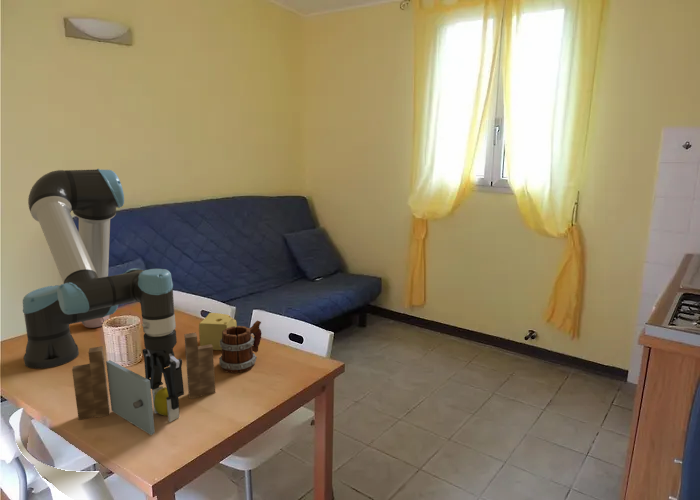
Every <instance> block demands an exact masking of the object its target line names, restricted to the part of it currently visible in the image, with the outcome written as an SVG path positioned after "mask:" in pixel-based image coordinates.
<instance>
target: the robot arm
mask: <svg viewBox="0 0 700 500" xmlns="http://www.w3.org/2000/svg"><path fill="white" fill-rule="evenodd" d="M27 198H28V199H27V201H28V204H27V205H28V209H29V211H30V215H31V217H32V218H33V219H34V220H35V221H37V222H38V223H39V226H40V227H41V230H42V233H43V236H44V238H45V241H46V243H47V245H48V247H49V248H48V249H49V250H50V253H51V256H52V257H53V261H54V263H55V266H56V268H57V271H58V273H59V276H60V278H61V280H62V284H60V285H59V284H58V285H57V284H56V285H48V286H44V287H39V288H38V289H35V290H32V291H30V292H29V293H27V294H26V295H25V296H24V297H23V298H22V313H23V317H24V322H25V330H26V337H27V342H26V343H27V344H26V347H25V353H24V355H23V362H24V363H23V364H24V366H25V367H27V368H30V369H48V368H54V367H58V366H61V365H62V366H63V365H64V364H67V363H69V362H71V361H73V360H74V359H76V358H77V357H78V356H79V354H80V352H79V351H80V350H79V346H78V344H77V343H76V341H75V339H74V337H73V336H72V333H71V329H70V325H72V324H78V323H82V321H87V320H92V319H96V318H103V317H105V316H108V315H110V316H111V315H113V314H115V313H116V312H117V309H118V308H119V305H125V304H129V303H130V304H131V303H133V302H138V303H140V309H141V318H142V324H141V326H142V330H143V344H144V345H143V346H144V348H143V349H142V350H141V351H142V355H143V361H144V373H145V374H144V375H145V376H144V378H146V379H148V380H150V386H151V396H152V405H153V414H156V415H157V414H159V413H158V412H157V411H156V409H155V406H154V400H155V395H156V394H157V392H158V391H159V390H161V389H163V388H164V386H162V385H164V383H165V387H166V388H167V392H168V396H169V397H167V398H166V399H167V409H168V416H167V417H168V418H167V419H168V422H170V423H171V422H173V421H174V420H176V419H178V418H180V401H179V397H181V396H184V394H185V390H184V380H183V379H184V378H183V370H182V369H183V367H182V366H183V360H182V358H178V359H177V358H176V357H175V352H174V347H175V346H176V345H177V341H178V340H177V330H176V326H177V325H176V324H177V323H176V315H175V304H174V303H175V302H174V282H173V279H172V273H171V272H170V270H168V269H165V268H150V269H146V270H145V269H142V268H130V269H127V270H126V271H125V272H123V273H121V274H114V275H109V263H110V262H109V261H110V259H109V258H110V239H111V238H110V235H111V234H110V232H111V219H113V218H114V217H115V216H116V215H117V208H118V209H120V208H123V206H124V205H125V193H124V189H123V185H122V182H121V179H120V178H119V176H118V175H117V173H116V172H115V171H113V170H112V169H100V168H97V169H73V170H72V169H71V170H70V169H67V170H63V169H58V170H54V171H53V170H52V171H50V172H48V173H45V174H43V175H42V176H41V177H40V178H38V179H37V180H36V181H35V183H34V184H33V185H32V187H31V189H30V192H29V195H28V197H27ZM71 213H73V215H74V216H75V217H77V218H78V228H77V226H76V223H75V221H74V219H73V216H72V214H71ZM162 377H163V378H164V383H163V382H162Z"/></svg>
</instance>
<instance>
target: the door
mask: <svg viewBox="0 0 700 500" xmlns="http://www.w3.org/2000/svg"><path fill="white" fill-rule="evenodd" d="M105 363H106V365H105V366H106V372H107V373H106V374H107V380H108V381H107V382H108V383H107V384H108V389H109V390H108V393H109V398H110V399H109V402H110V409H111V412H113V413H114V414H116V415H117V416H119V417H121V418H123V419H124V420H126V421H127V422H129V423H130V424H132V425H134V426H135V427H137V428H138V429H140V430H142V431H144V432H146V433H147V434H148V435H150V436H152V435H154V434H155V433H156V432H155V431H156V430H155V422H154V419H155V418H154V407H153V396H152V389H151V386H150V380H148V379H146V378H145V376H142V375H140V374H138V373H136V372H134V371H132V370H130V369H128V368H126V367H124V366H122V365H120V364H118V363H116V362H115V361H112V360H111V359H110V360H107V361H105Z"/></svg>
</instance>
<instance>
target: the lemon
mask: <svg viewBox="0 0 700 500" xmlns="http://www.w3.org/2000/svg"><path fill="white" fill-rule="evenodd" d="M167 397H169V396H168V392H167V388H166V386H165V387H164V386H163V389H161V390H159V391H158V392H157V394H156V395H155V400H154V404H153V407H154V406H155V409H156V411H157V412H158V413H157V414H159V415H161V416H164V417H168V409H167V399H166V398H167Z"/></svg>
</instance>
